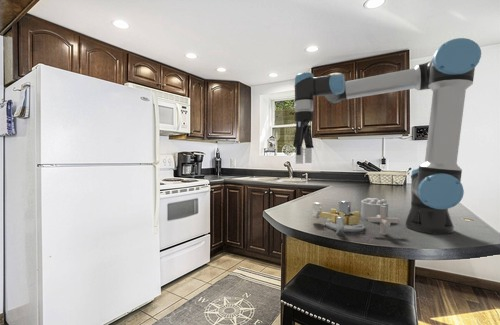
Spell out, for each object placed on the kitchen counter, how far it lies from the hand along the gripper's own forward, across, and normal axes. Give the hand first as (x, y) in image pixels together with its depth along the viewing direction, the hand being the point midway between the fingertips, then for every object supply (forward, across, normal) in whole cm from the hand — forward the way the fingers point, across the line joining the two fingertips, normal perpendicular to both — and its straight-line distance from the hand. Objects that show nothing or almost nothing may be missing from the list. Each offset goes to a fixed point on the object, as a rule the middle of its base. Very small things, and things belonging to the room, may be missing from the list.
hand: (304, 163), depth 106 cm
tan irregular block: (+23, -2, +12) cm, 26 cm away
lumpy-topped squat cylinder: (+25, -24, +26) cm, 43 cm away
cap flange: (+25, -2, +16) cm, 30 cm away
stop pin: (+25, +9, +16) cm, 31 cm away
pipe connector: (+25, +2, +29) cm, 39 cm away
